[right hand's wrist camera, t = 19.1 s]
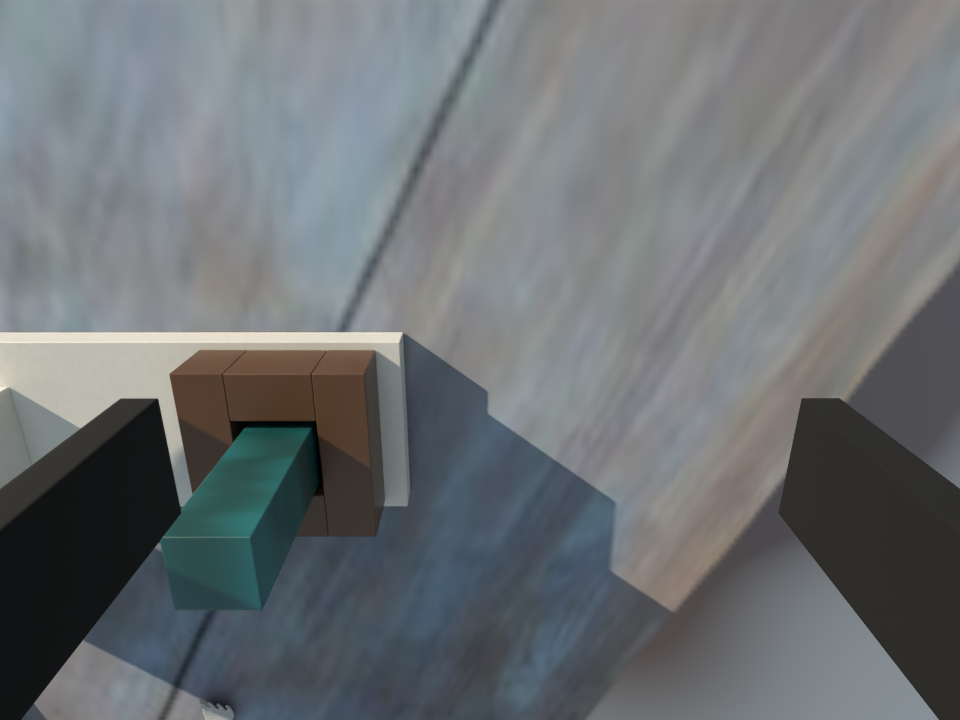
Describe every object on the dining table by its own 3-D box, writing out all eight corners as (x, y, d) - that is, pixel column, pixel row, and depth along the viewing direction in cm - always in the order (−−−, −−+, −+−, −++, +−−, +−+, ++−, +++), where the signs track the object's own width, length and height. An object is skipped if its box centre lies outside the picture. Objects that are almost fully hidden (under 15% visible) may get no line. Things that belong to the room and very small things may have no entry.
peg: (326, 401, 39) (251, 537, 26) (332, 456, 41) (262, 610, 28) (264, 401, 39) (158, 537, 26) (272, 456, 41) (174, 610, 28)
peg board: (403, 332, 40) (365, 431, 27) (410, 490, 44) (381, 643, 31) (-59, 332, 40) (-322, 431, 27) (-7, 490, 44) (-212, 644, 31)
